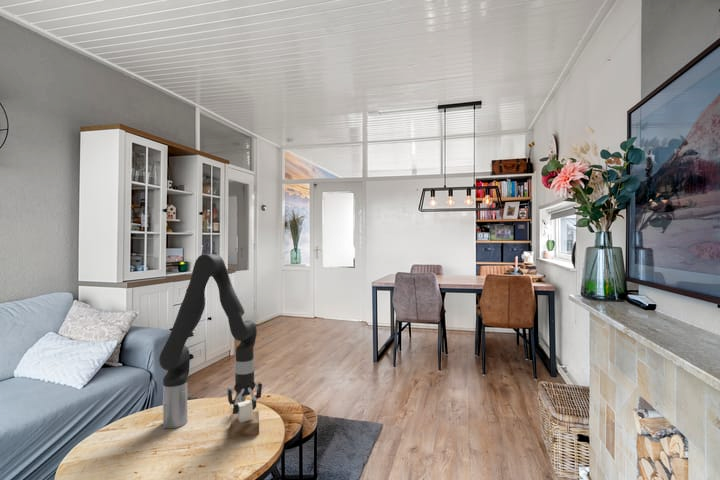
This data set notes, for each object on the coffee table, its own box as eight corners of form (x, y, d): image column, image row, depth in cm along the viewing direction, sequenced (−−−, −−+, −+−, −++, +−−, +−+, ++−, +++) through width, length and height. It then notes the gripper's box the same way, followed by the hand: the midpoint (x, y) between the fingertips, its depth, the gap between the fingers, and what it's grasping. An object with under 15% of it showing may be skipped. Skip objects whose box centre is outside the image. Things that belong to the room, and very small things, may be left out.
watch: (249, 409, 172) (249, 385, 172) (243, 417, 164) (243, 392, 164) (237, 409, 172) (237, 385, 172) (231, 417, 164) (231, 392, 164)
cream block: (240, 422, 150) (239, 407, 150) (237, 417, 154) (236, 403, 154) (252, 419, 153) (252, 404, 153) (249, 414, 157) (249, 400, 157)
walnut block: (230, 439, 147) (230, 426, 147) (231, 426, 157) (231, 414, 157) (259, 435, 150) (259, 422, 150) (258, 422, 160) (258, 410, 160)
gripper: (259, 364, 161) (259, 403, 161) (224, 370, 153) (224, 411, 153) (264, 369, 154) (264, 410, 154) (228, 376, 147) (228, 419, 147)
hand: (244, 410), depth 154 cm, fingers open, 6 cm apart
